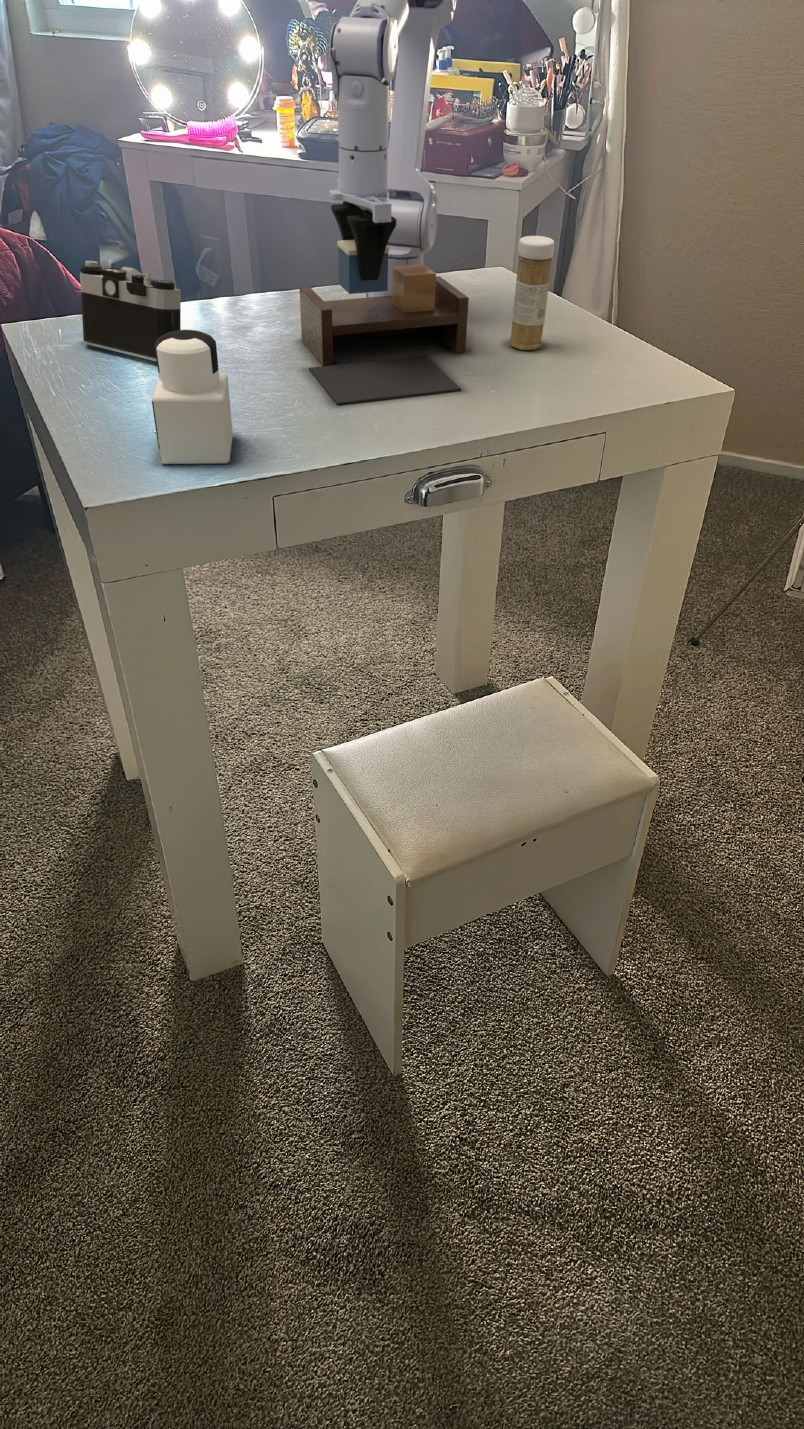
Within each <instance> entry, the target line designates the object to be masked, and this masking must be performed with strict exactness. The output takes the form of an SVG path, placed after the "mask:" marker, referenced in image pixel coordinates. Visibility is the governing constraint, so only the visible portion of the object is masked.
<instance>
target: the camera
mask: <svg viewBox="0 0 804 1429" xmlns="http://www.w3.org/2000/svg"><path fill="white" fill-rule="evenodd" d="M84 263H85V264H82V265H81V266H80V272H79V281H80V297H81V312H82V313H81V315H82V316H81V318H82V335H83V338H82V339H83V342H82V343H83V344H85V345H88V346H92V347H96V348H100V349H105V350H109V351H111V352H112V351H113V352H116V353H121V354H124V355H128V356H133V357H137V358H140V359H144V360H149V361H153V362H157V360H156V353H155V346H154V344H155V342H156V340H157V339H158V338H159V337H160V336H162V335H164V334H166V333H168V332H172V331H177V330H182V328H181V325H182V324H181V323H182V322H181V309H182V308H181V300H182V299H181V289H179V288H175V286H176V285H175V282H174V281H172V280H166V279H153V277H152V272H144V273H145V274H143V273H142V272H140V271H138V270H137V269H136V268H134V267H129V266H123V267H121V268H117V267H112V266H109V267H108V266H107V267H102V266H99V262H98V261H94V260H85V261H84Z"/></svg>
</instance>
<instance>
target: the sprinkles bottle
mask: <svg viewBox="0 0 804 1429" xmlns="http://www.w3.org/2000/svg"><path fill="white" fill-rule="evenodd" d="M554 252H555V241H554V239H552V238H550V237H548V236H543V235H526V236H523V237H521V238H520V239H519V241H518V248H517V255H518V256H517V258H518V263H517V272H516V279H515V289H514V296H513V305H512V306H513V307H512V315H511V329H510V330H511V331H510V338H509V345H510V346H511V347H513V348H515V349H517V350H523V351H534V350H538V349H540V348H541V347H542V345H543V341H542V339H543V331H544V323H545V320H546V311H547V303H548V297H549V288H550V287H549V286H550V274H551V265H552V261H553V257H554V254H555V253H554Z"/></svg>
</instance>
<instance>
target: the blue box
mask: <svg viewBox="0 0 804 1429" xmlns="http://www.w3.org/2000/svg"><path fill="white" fill-rule="evenodd" d="M336 244H337V250H338V252H337V253H338V259H337V260H338V285H339V286H340V287H341V288H342V289H344V290H345V291H346V292H347V293H348V295H354V294H365V293H368V292H381V291H387V290H388V253H389V247H387V246H386V249H385V253H384V257H383V261H382V266H381V270H380V274H379V278H378V280H366V281H363V280H361V277H360V273H359V268H358V259H357V250H356V245H355V240H342V239H341V240H337V242H336Z"/></svg>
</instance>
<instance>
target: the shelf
mask: <svg viewBox="0 0 804 1429" xmlns="http://www.w3.org/2000/svg"><path fill="white" fill-rule="evenodd" d="M469 300H470V298H469V296H467V295H466V294H465V293H463V292H462V291H460V290H459V289H458V288H456V286H454V285H452V284H451V283H449V282H448V281H447V280H445V279H444V278H443V277H441V276H436V289H435V309H434V311H423V312H412V313H403V312H402V311H400V310H399V309H398V308H397V307H396V306H395V305H394V304H392V296H381V297H369V298H365V297H359V298H345V299H334V300H333V299H332V300H323V299H322V298H321V297H320V296H319V294H317V293H316V292H315V291H314V290H313V288H312V287H310V286H299V310H300V330H301V331H300V332H301V343H303V345H304V346H305V348H306V349H307V350H308V351H309V352H310V354H312V355H313V357H314V358H315V359H316V360H317V361H318V363H319V364H320V366H330V365H334V342H333V341H341V340H352V339H362V338H373V337H382V336H383V337H384V336H394V335H403V334H404V335H405V334H415V333H423V332H431V333H432V334H433V335H434V336H435V337H437V338H438V339H439V340H440V341H441V342H443V344H445V345H446V346H447V347H448V348H450V349H451V350H452V351H453V352H454V353H456V354H459V353H465V352H466V343H467V330H468V316H469V314H468V312H469Z"/></svg>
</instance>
